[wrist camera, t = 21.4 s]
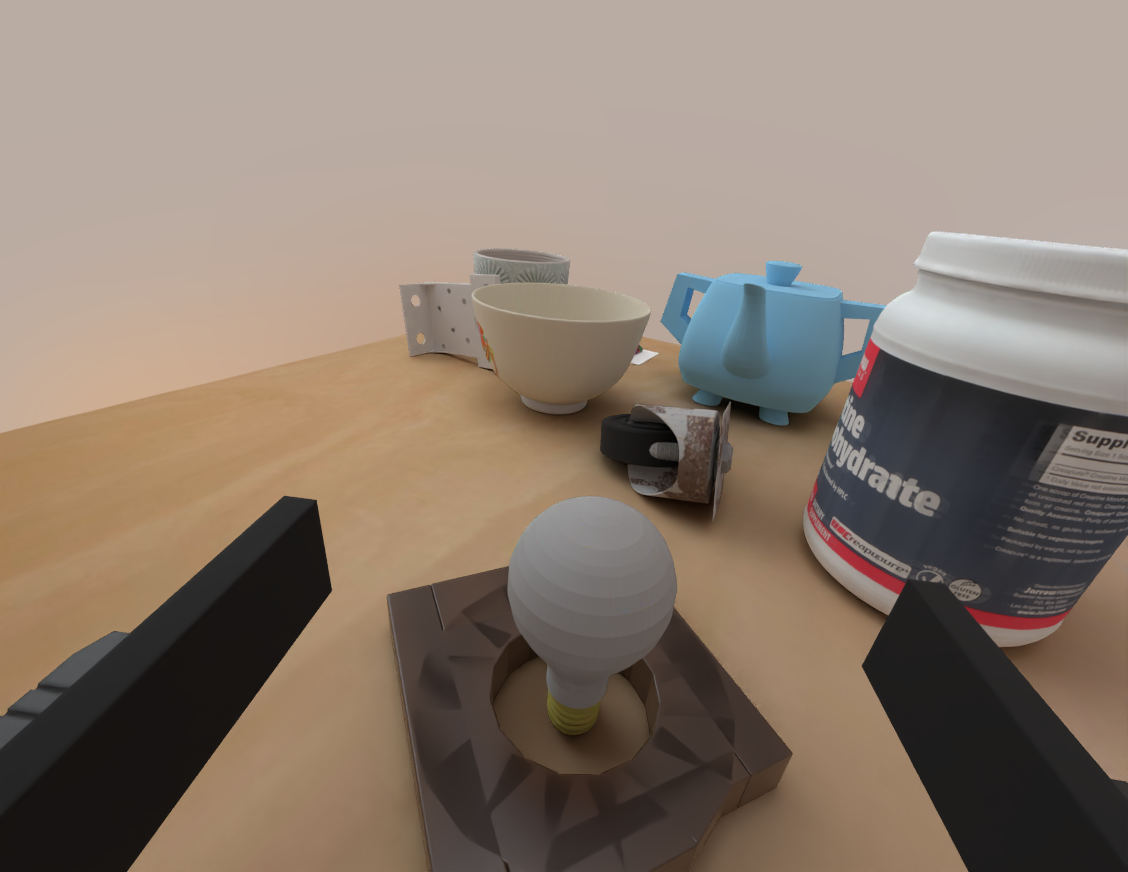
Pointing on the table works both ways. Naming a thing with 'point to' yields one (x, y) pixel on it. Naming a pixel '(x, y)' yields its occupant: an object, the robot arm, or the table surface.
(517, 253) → the planter
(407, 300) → the bracket
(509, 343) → the bowl
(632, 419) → the caster wheel
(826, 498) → the supplement tub
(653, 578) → the light bulb
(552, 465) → the table surface
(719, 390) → the teapot
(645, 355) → the white tile
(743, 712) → the socket board
